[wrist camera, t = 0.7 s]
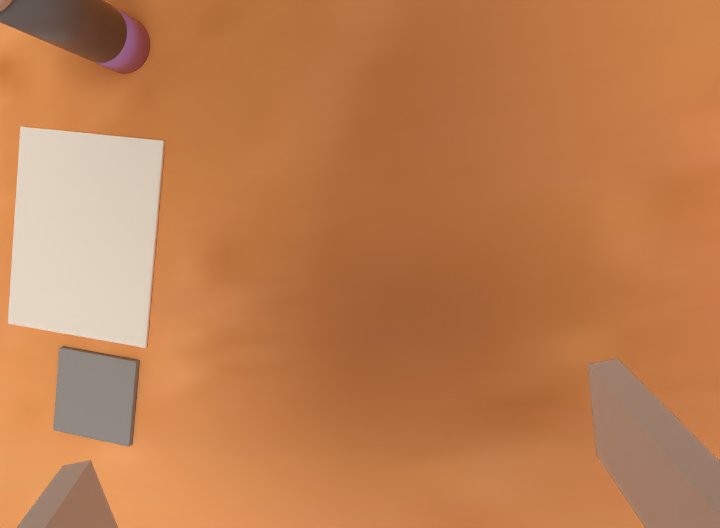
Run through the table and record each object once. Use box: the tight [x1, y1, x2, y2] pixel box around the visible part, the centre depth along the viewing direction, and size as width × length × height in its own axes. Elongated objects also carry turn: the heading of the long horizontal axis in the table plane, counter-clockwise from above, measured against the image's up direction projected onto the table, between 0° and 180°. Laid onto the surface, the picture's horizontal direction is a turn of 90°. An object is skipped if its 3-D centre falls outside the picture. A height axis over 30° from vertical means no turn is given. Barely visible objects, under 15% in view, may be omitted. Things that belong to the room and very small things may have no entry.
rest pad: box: [53, 347, 139, 446], centre depth 40 cm, size 6×6×1 cm
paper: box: [8, 127, 165, 348], centre depth 40 cm, size 14×11×1 cm
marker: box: [0, 0, 150, 73], centre depth 33 cm, size 4×4×12 cm
